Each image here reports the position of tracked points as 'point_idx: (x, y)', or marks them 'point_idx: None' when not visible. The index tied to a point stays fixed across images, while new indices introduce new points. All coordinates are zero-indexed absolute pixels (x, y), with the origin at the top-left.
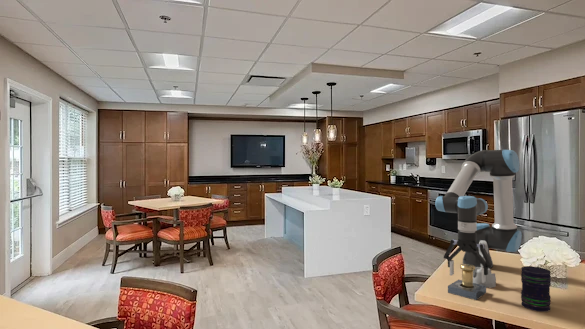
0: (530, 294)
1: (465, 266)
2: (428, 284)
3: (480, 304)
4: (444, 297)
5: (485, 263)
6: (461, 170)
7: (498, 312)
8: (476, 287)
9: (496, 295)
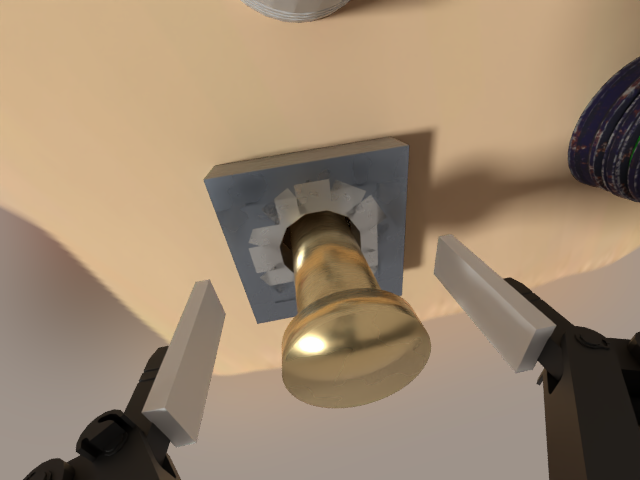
0: None
1: (352, 389)
2: (114, 288)
3: (415, 294)
4: None
5: (596, 376)
6: None
7: None
8: (371, 226)
9: (448, 129)
